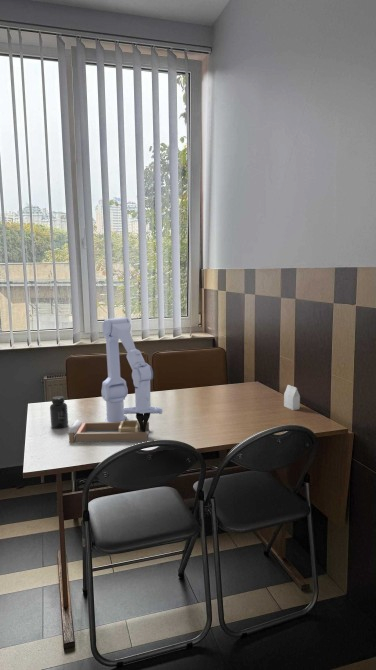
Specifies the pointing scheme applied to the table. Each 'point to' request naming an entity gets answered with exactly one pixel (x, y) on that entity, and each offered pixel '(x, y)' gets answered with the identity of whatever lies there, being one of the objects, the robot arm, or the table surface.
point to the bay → (104, 433)
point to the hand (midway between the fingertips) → (143, 431)
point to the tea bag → (291, 398)
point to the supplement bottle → (58, 412)
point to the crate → (129, 426)
